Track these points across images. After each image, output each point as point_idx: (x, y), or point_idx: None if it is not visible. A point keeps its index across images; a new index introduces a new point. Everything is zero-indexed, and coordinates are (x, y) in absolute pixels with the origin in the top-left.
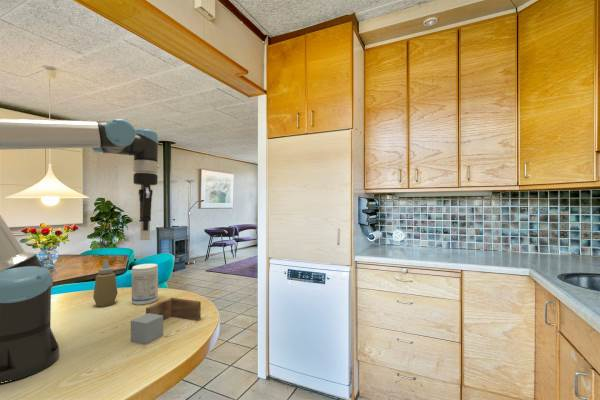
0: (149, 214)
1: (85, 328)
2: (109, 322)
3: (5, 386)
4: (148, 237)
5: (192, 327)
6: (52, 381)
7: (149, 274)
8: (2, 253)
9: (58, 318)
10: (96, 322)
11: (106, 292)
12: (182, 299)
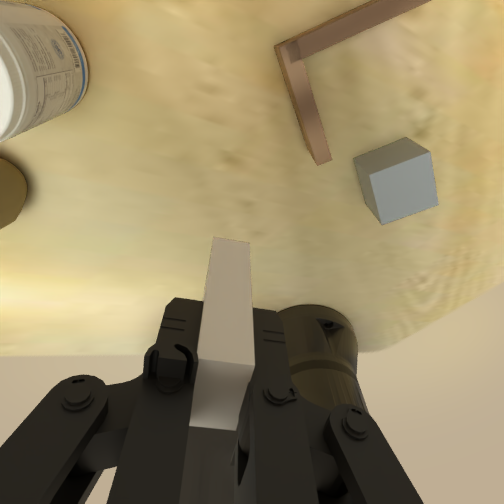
0: (403, 493)
1: (198, 255)
2: (197, 209)
3: None
4: (248, 259)
5: (440, 48)
6: (400, 316)
7: (31, 72)
8: None
9: (71, 286)
10: (172, 231)
11: (9, 205)
12: (343, 23)
